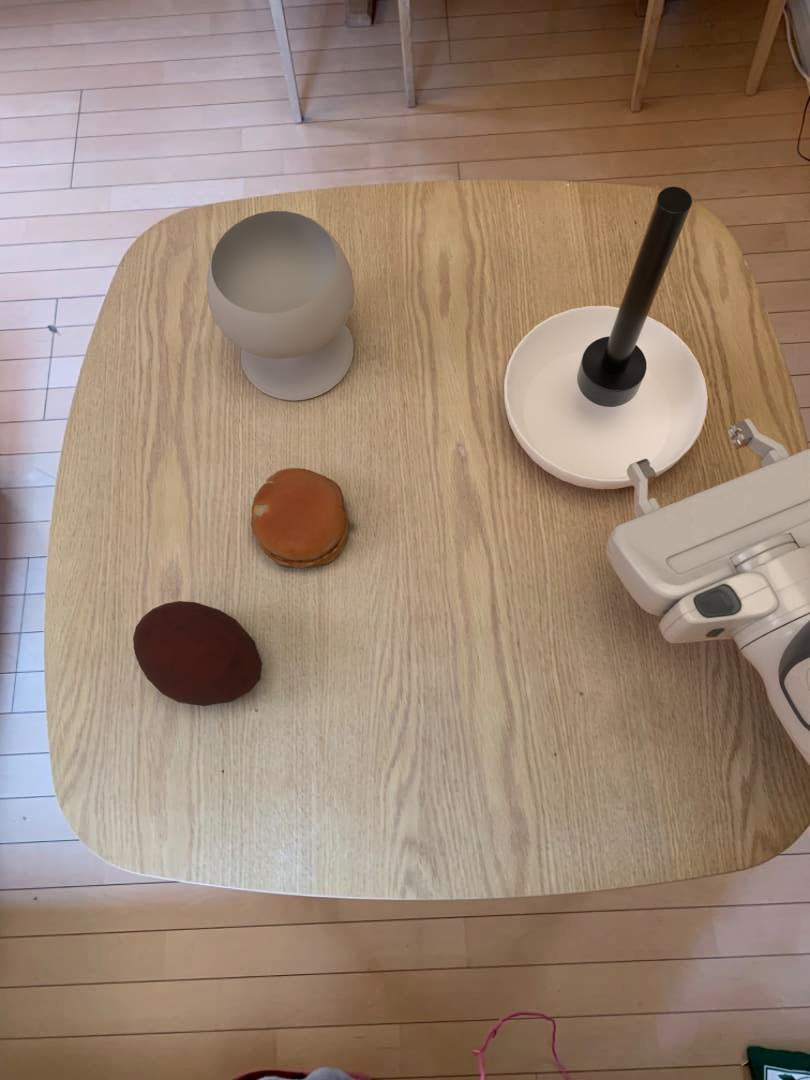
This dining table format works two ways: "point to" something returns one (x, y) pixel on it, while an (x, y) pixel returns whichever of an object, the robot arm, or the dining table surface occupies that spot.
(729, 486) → the robot arm
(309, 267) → the chalice
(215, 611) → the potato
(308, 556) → the burger
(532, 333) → the bowl
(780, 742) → the dining table surface
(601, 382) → the rod on round base
